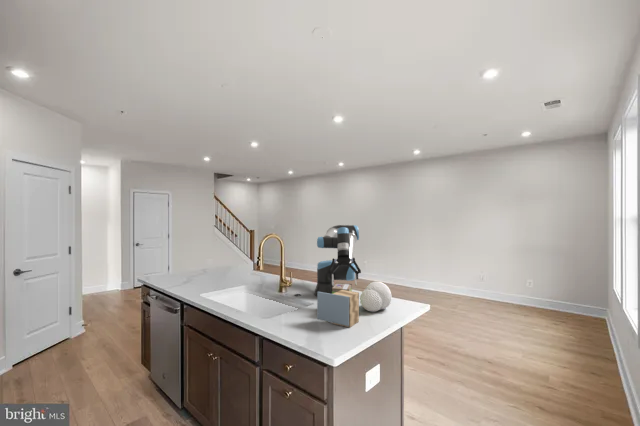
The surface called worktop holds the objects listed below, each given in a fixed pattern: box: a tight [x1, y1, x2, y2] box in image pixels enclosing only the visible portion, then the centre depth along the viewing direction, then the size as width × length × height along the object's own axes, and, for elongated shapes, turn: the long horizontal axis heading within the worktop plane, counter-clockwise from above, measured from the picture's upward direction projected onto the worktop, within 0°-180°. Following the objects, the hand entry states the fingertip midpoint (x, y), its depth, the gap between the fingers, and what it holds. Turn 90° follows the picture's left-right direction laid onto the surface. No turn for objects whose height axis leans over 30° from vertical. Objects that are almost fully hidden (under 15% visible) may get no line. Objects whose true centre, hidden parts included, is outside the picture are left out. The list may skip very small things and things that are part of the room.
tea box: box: [332, 282, 353, 294], centre depth 172 cm, size 15×10×15 cm, turn 168°
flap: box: [316, 292, 349, 326], centre depth 152 cm, size 1×18×14 cm, turn 58°
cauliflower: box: [359, 281, 393, 313], centre depth 176 cm, size 20×18×16 cm
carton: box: [331, 290, 360, 328], centre depth 154 cm, size 10×10×15 cm
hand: (344, 285), depth 178 cm, fingers open, 13 cm apart
